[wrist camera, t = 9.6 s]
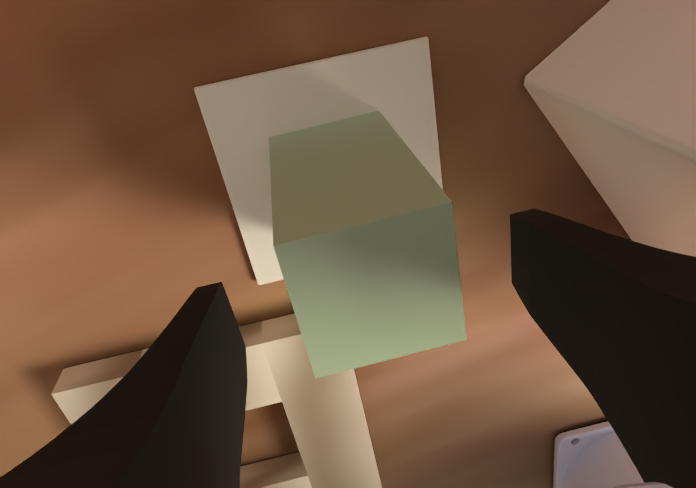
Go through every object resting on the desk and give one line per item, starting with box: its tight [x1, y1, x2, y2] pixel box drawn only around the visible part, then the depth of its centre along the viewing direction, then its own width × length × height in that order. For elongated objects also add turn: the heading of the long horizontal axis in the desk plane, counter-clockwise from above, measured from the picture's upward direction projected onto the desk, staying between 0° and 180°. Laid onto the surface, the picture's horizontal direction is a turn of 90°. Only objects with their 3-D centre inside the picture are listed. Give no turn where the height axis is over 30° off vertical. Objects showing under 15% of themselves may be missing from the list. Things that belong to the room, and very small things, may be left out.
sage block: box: [269, 111, 467, 379], centre depth 15 cm, size 4×4×8 cm
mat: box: [194, 37, 443, 285], centre depth 19 cm, size 8×8×1 cm
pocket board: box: [51, 313, 382, 488], centre depth 24 cm, size 12×12×2 cm
